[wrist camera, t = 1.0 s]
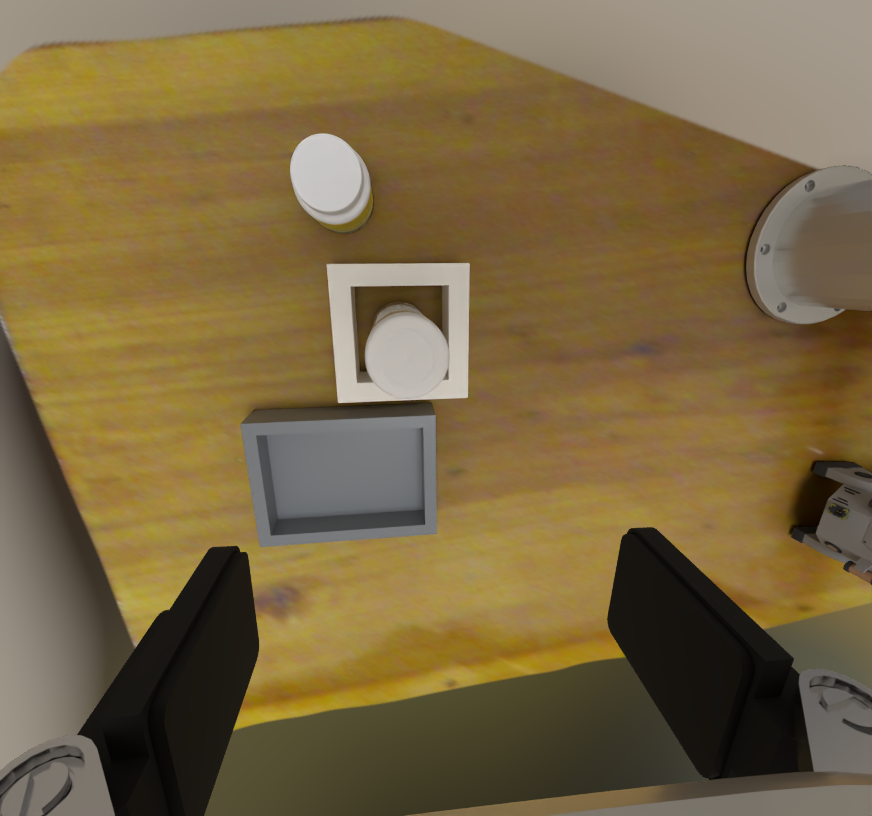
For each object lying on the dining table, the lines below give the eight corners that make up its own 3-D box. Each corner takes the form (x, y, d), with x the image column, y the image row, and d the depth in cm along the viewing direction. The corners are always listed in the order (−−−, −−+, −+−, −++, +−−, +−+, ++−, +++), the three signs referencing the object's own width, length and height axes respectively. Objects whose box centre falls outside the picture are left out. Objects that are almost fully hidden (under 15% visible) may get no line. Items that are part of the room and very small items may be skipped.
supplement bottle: (386, 200, 32) (387, 175, 24) (345, 247, 33) (332, 238, 25) (337, 148, 31) (320, 103, 23) (295, 199, 31) (264, 172, 23)
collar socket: (460, 264, 34) (469, 263, 30) (459, 385, 37) (467, 397, 33) (333, 265, 33) (326, 264, 29) (343, 389, 36) (338, 403, 32)
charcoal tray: (431, 402, 37) (435, 415, 34) (432, 512, 40) (436, 533, 37) (254, 410, 36) (240, 423, 32) (270, 523, 39) (259, 546, 35)
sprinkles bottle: (366, 348, 35) (355, 389, 22) (379, 293, 34) (375, 304, 21) (419, 361, 36) (437, 409, 23) (434, 309, 35) (461, 328, 22)
